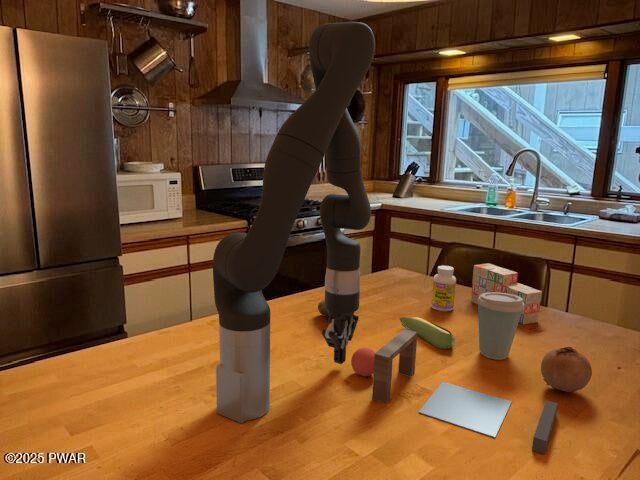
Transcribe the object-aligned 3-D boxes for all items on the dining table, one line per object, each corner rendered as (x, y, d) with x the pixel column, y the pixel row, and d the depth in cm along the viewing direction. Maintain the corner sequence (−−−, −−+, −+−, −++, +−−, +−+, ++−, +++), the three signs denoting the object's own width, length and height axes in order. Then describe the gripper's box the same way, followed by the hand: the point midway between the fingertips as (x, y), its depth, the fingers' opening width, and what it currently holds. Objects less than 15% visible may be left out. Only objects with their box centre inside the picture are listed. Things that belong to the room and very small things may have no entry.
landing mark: (495, 438, 86) (495, 437, 86) (418, 412, 93) (418, 411, 93) (511, 402, 98) (511, 401, 98) (442, 382, 105) (442, 381, 105)
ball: (341, 362, 106) (358, 385, 105) (362, 348, 103) (379, 372, 102) (351, 351, 111) (367, 374, 110) (371, 338, 109) (387, 361, 108)
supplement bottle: (430, 310, 148) (433, 269, 145) (431, 303, 154) (434, 263, 151) (453, 313, 146) (456, 271, 143) (453, 306, 152) (457, 265, 149)
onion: (560, 405, 97) (566, 358, 95) (528, 382, 106) (533, 339, 104) (599, 400, 100) (606, 354, 97) (565, 377, 108) (571, 335, 106)
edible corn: (444, 355, 119) (445, 337, 118) (394, 325, 136) (395, 310, 135) (460, 351, 121) (461, 333, 120) (409, 323, 138) (410, 307, 137)
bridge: (386, 403, 96) (388, 357, 94) (372, 398, 98) (374, 353, 96) (414, 373, 109) (417, 332, 106) (401, 369, 110) (404, 328, 108)
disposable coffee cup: (462, 348, 122) (468, 290, 119) (497, 342, 126) (504, 286, 123) (491, 367, 112) (498, 304, 109) (528, 360, 116) (536, 300, 113)
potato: (343, 312, 145) (344, 286, 143) (357, 329, 132) (358, 300, 131) (315, 314, 142) (316, 287, 141) (327, 331, 130) (328, 302, 129)
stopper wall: (544, 454, 82) (546, 441, 81) (531, 450, 83) (533, 437, 82) (555, 415, 94) (557, 403, 93) (544, 412, 95) (546, 400, 94)
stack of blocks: (538, 322, 141) (544, 281, 138) (522, 325, 138) (527, 283, 136) (485, 299, 160) (488, 262, 157) (470, 301, 157) (473, 264, 155)
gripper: (342, 299, 99) (340, 378, 102) (371, 283, 110) (367, 355, 113) (311, 292, 102) (309, 369, 106) (341, 277, 113) (339, 347, 117)
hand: (339, 361), depth 110 cm, fingers closed
